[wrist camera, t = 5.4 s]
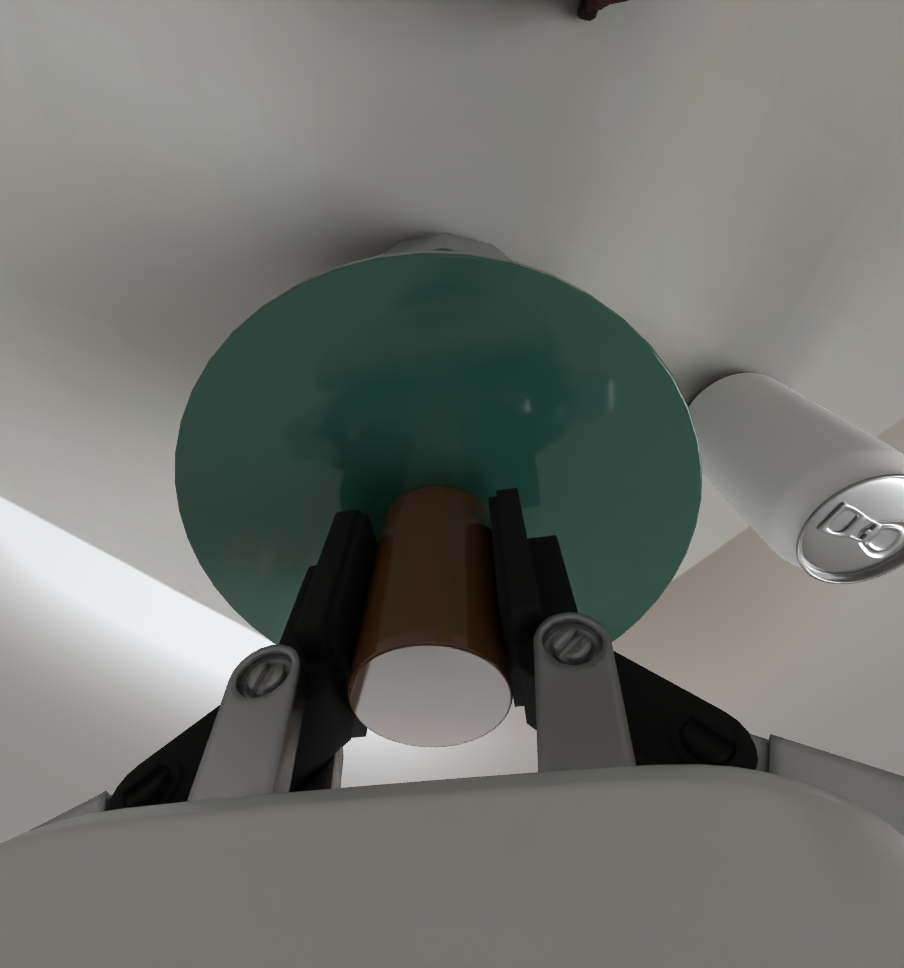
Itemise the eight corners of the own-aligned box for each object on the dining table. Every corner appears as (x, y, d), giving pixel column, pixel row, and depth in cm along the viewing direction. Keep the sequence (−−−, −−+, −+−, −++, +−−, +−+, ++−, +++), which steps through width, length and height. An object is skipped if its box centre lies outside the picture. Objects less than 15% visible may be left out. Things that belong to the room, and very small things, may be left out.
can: (738, 478, 33) (867, 608, 23) (656, 445, 32) (754, 566, 22) (807, 393, 30) (993, 498, 20) (720, 353, 29) (870, 441, 19)
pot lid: (96, 304, 11) (-219, 410, 6) (708, 190, 10) (983, 200, 5) (291, 682, 18) (224, 885, 13) (668, 643, 17) (764, 850, 12)
